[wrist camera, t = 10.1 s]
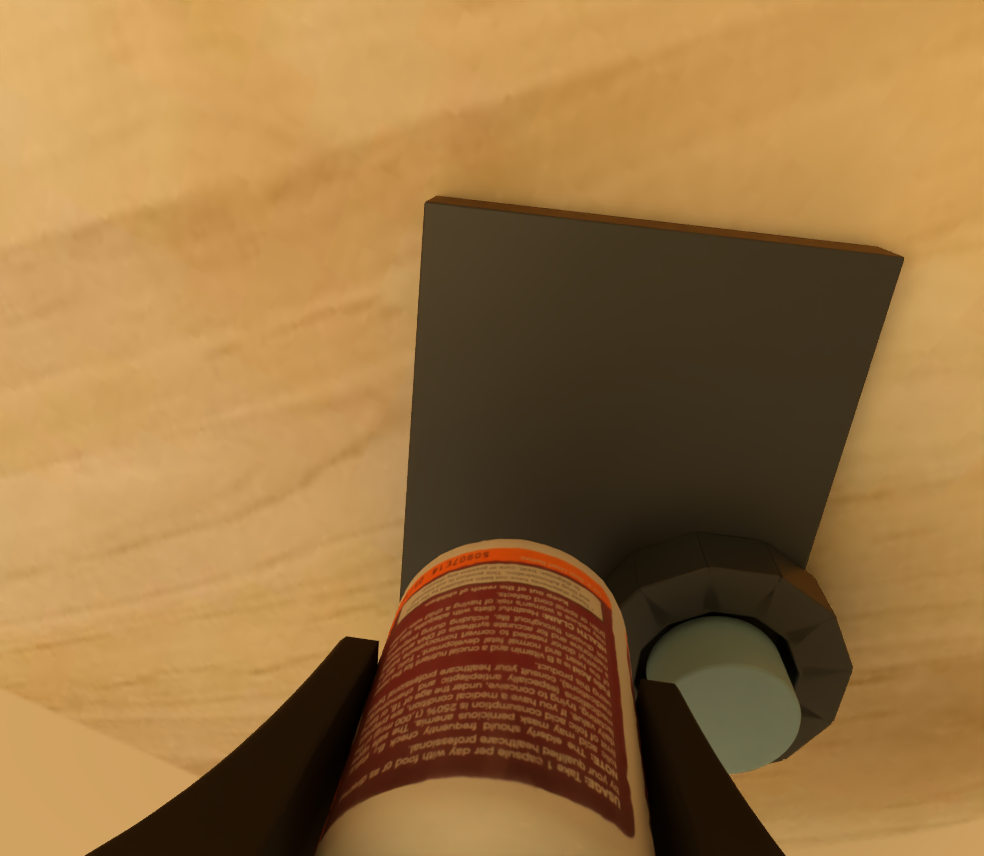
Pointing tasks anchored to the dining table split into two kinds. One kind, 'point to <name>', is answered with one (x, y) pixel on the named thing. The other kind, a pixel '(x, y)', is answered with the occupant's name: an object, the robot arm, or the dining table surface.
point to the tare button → (730, 688)
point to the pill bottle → (498, 718)
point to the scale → (645, 413)
